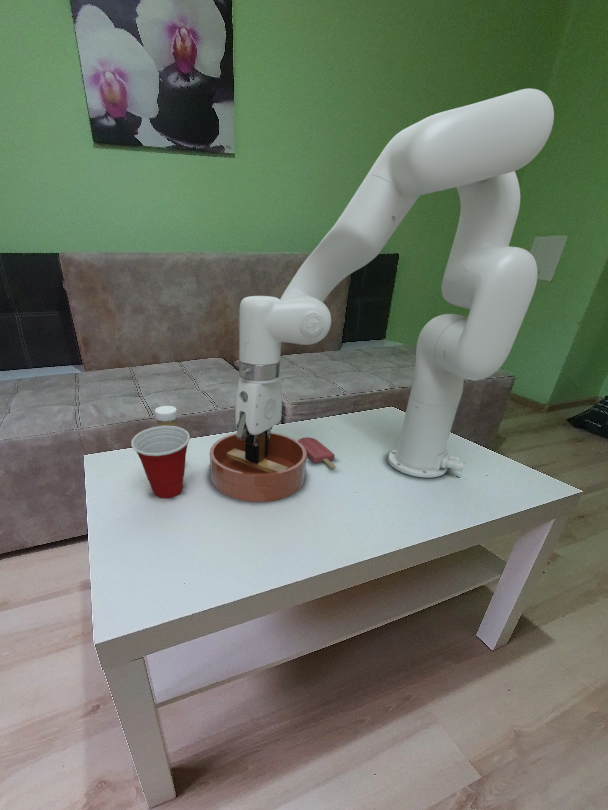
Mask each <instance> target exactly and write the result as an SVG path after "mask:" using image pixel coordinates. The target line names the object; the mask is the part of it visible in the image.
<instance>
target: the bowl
mask: <svg viewBox="0 0 608 810" xmlns="http://www.w3.org/2000/svg"><path fill="white" fill-rule="evenodd" d="M236 434H237V432H235V433H232V434H229V435H226V436H224V437H221V438H219V439H218V440H217V441H215V442H214V443H213V444H212V446H210V449H209V470H210V480H211V483H212V485H213V486H214V487H215V489H216V490H218V491H219V492H220V493H222V494H223V495H225V496H227V497H230V498H232V499H235V500H239V501H244V502H253V503H264V502H265V503H266V502H275V501H279V500H282V499H286V498H287V497H290V496H292V495H294V494H295V493H297V492H299V490H300V489H301V488H302V487H303V485H304V482H305V478H306V477H305V476H306V466H307V452H306V449H305V447H304V446H303V445H302V444H301V443H300V442H298V440H297V439H295V438H293V437H291V436H288V435H285V434H283V433H278V432H273V431H271V436H270V438H269V439H268V440H269V446H268V456H267V457H265V459H267V460H269V461H272V462H275V463H278V464H281V465H283V466H286V467H288V469H286V470H282V471H279V472H273V473H268V472H266V471H263V470H260V469H258V468H255V467H252V466H250V465H247V464H244V463H242V462H239V461H236V460H234V459H231V458H228V457H226V453H227V452H229V451H231V450H232V449H234V448H236V449H239V450H241V451H244V452H245V443H244V442H243V441H242V440H239V439H236ZM249 434H250V433H249Z"/></svg>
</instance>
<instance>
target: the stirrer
mask: <svg viewBox="0 0 608 810" xmlns="http://www.w3.org/2000/svg"><path fill="white" fill-rule="evenodd" d="M249 435H250V436H251V437H252V438H253V434H249ZM265 436H266V433H263V432H262V433H260V434H258V444H257V445H260V449H259V462H258V463H254V462H251V461H249V460H246V459H245V452H244V451H241V450H239V449H236V448H234V449H232V450H231V451H229V452H227V453H226V457H228V458H231V459H234V460H236V461H239V462H242V463H244V464H247V465H250V466H252V467H255V468H258V469H260V470H263V471H266V472H268V473H273V472H279V471H282V470H286V469H288V467H286V466H283V465H281V464H278V463H275V462H272V461H269V460H267V459H265Z"/></svg>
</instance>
